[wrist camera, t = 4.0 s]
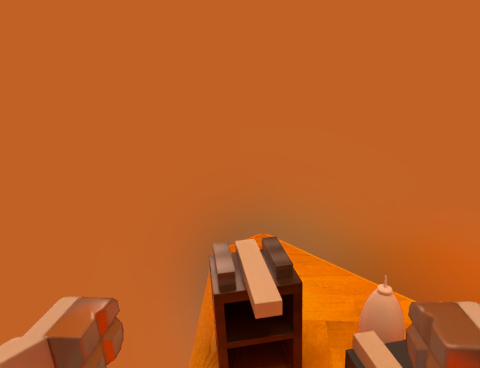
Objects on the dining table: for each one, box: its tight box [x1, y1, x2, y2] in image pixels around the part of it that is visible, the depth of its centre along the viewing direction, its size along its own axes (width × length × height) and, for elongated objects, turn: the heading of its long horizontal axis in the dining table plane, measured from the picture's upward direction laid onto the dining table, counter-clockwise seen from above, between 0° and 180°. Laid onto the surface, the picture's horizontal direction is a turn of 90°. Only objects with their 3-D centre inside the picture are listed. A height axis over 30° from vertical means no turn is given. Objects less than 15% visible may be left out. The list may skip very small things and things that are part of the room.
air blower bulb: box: [359, 275, 404, 343], centre depth 59 cm, size 8×8×18 cm
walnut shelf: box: [209, 237, 302, 368], centre depth 60 cm, size 13×15×22 cm
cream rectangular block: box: [235, 239, 282, 319], centre depth 54 cm, size 20×4×2 cm, turn 9°
